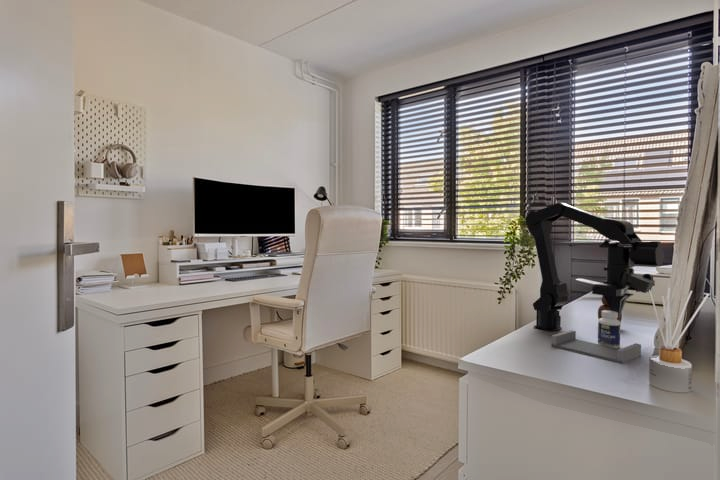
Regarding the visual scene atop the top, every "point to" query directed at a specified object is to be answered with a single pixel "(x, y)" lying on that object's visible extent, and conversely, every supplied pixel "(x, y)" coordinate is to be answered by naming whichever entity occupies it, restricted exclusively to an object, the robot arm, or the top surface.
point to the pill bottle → (609, 329)
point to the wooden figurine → (606, 307)
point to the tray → (595, 348)
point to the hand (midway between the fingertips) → (617, 317)
